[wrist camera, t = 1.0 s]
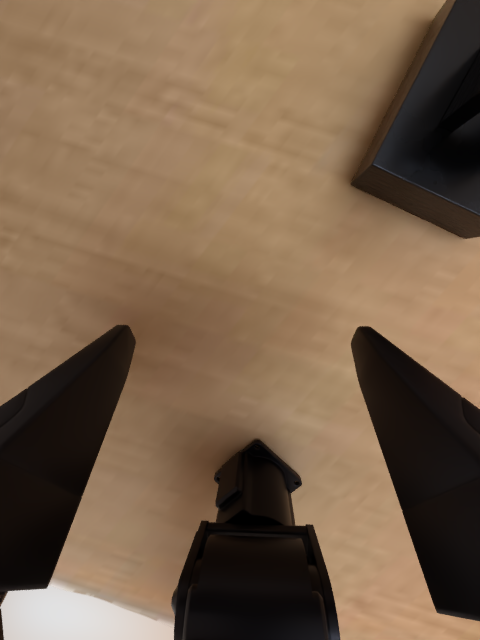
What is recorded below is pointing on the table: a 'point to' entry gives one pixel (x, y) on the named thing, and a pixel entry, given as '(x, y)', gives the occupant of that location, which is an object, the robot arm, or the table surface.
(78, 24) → the table surface
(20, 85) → the table surface
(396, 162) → the lever base unit
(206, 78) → the table surface
